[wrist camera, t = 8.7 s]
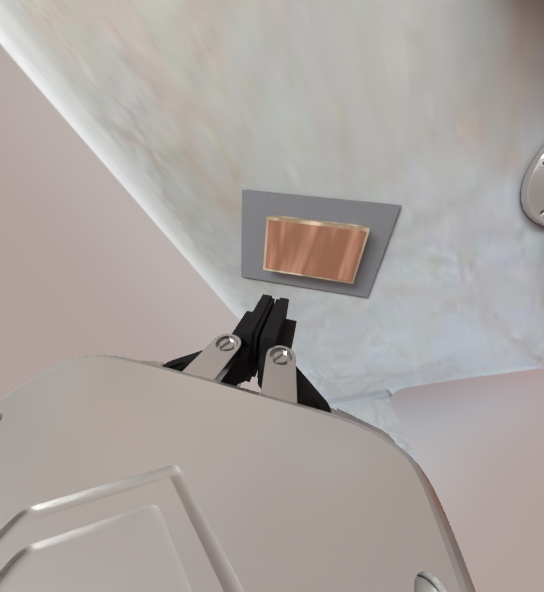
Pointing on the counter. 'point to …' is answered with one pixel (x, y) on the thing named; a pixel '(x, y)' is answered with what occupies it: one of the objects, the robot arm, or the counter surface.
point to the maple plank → (313, 248)
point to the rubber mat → (320, 209)
